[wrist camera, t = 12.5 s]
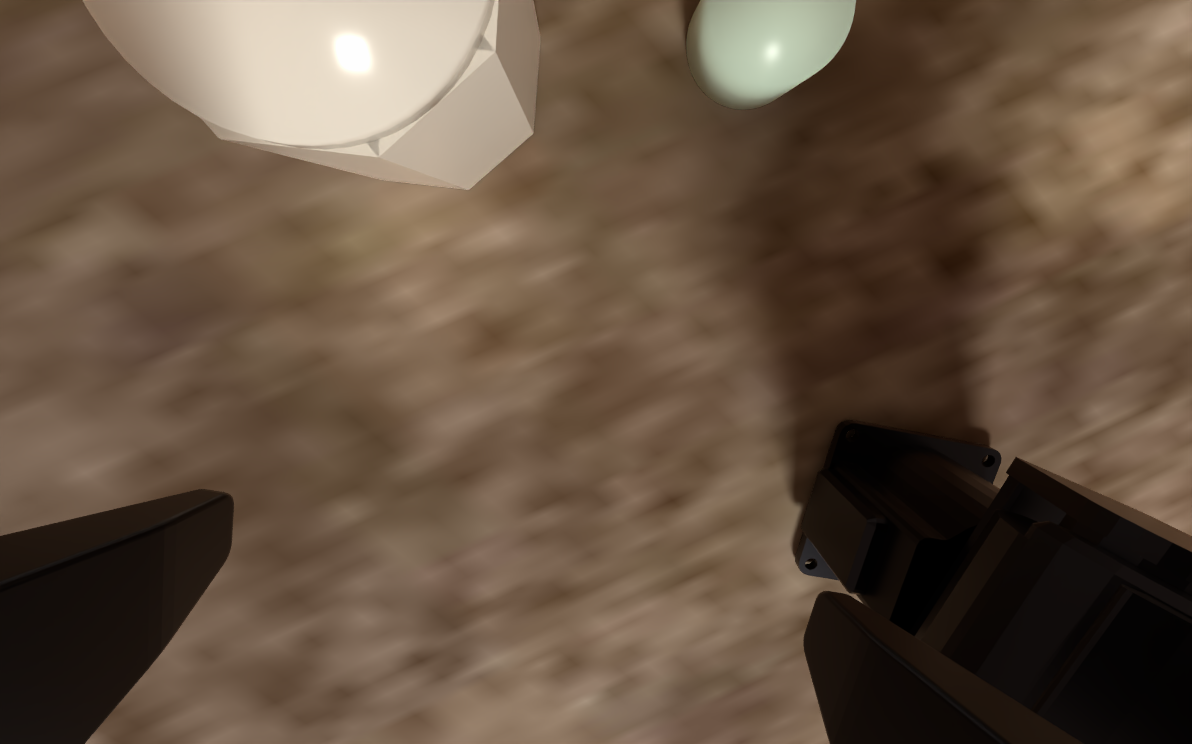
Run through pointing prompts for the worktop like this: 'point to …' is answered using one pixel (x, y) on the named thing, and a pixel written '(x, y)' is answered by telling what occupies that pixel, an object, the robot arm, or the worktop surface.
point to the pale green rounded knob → (762, 46)
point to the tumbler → (346, 77)
